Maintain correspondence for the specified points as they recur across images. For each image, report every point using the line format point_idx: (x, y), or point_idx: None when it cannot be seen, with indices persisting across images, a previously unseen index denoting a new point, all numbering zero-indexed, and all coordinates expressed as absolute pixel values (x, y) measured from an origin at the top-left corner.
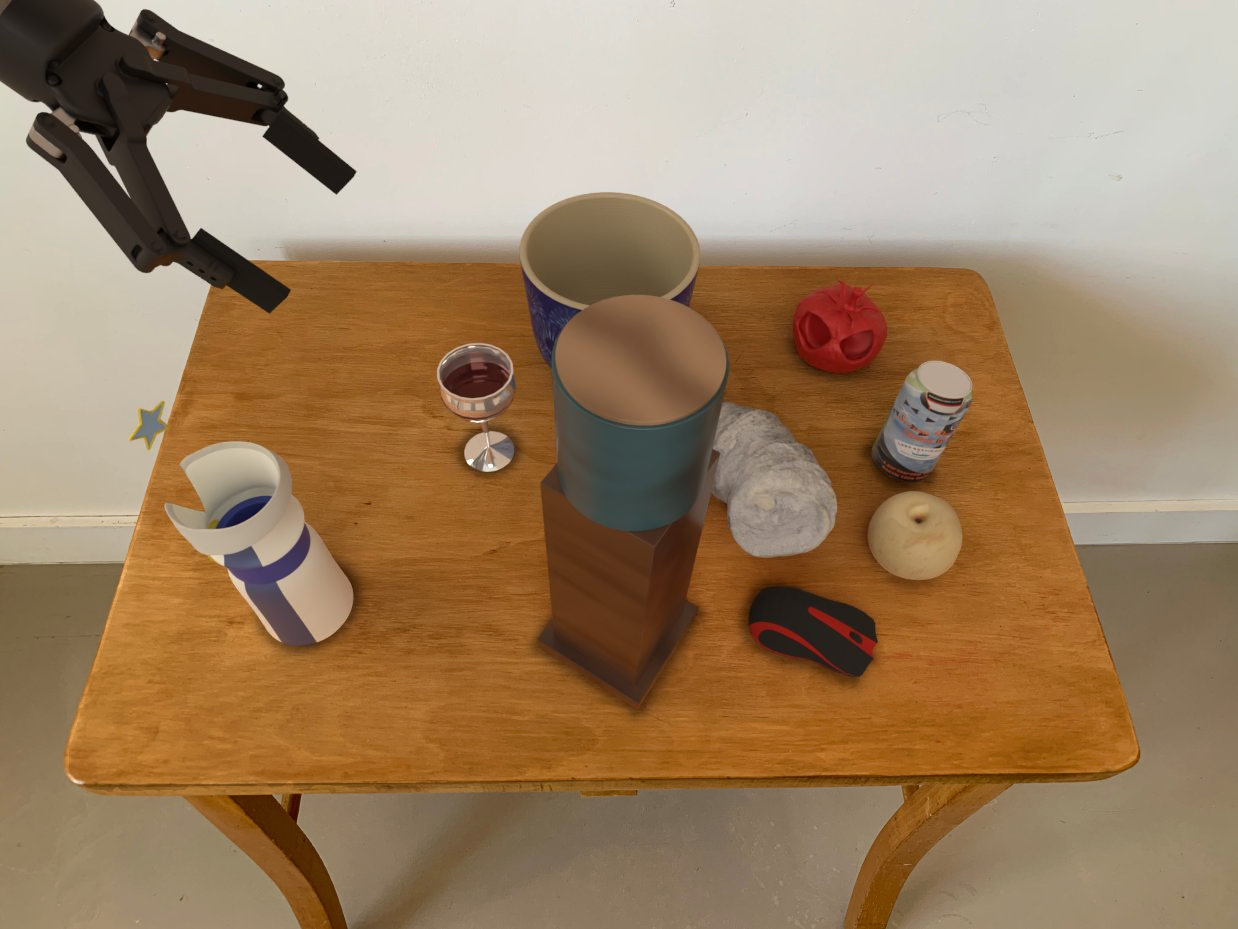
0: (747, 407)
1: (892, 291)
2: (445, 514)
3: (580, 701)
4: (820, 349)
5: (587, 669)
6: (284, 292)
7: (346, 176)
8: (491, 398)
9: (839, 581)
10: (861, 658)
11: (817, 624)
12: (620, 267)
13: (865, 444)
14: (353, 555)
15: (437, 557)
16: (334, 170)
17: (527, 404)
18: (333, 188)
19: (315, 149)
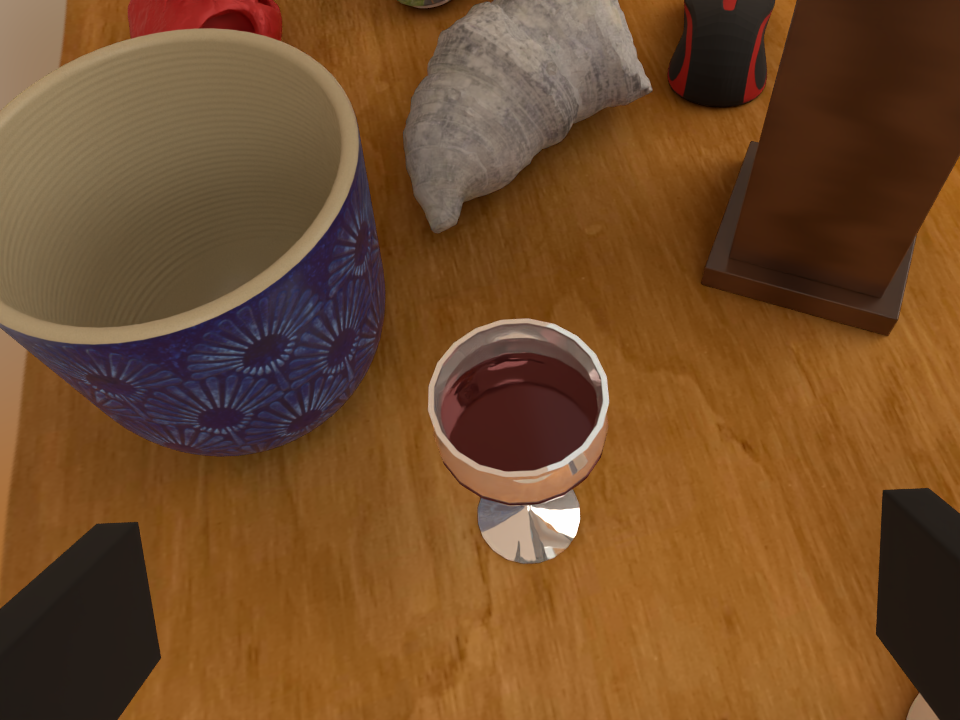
0: (439, 54)
1: (97, 14)
2: (698, 553)
3: (942, 265)
4: (263, 34)
5: (911, 245)
6: (924, 494)
7: (131, 555)
8: (576, 354)
9: (634, 32)
10: None
11: (742, 6)
12: (79, 294)
13: (403, 23)
14: (857, 710)
15: (795, 539)
16: (110, 597)
17: (396, 473)
18: (148, 654)
19: (44, 634)
